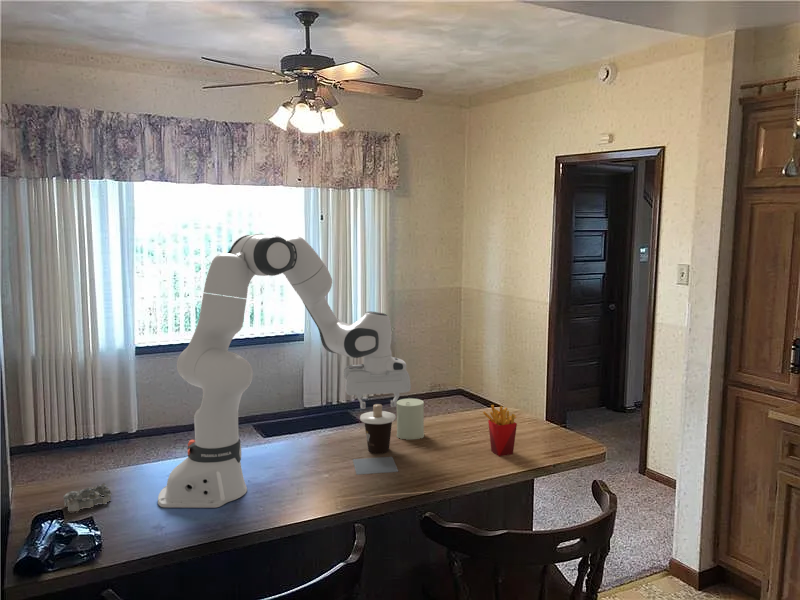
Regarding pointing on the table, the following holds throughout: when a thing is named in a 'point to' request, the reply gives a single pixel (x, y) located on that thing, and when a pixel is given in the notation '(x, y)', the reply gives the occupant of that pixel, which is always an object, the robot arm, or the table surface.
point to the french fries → (501, 431)
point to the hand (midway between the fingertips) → (378, 407)
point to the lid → (377, 416)
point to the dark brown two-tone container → (378, 437)
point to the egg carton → (87, 497)
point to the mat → (374, 465)
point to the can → (410, 418)
